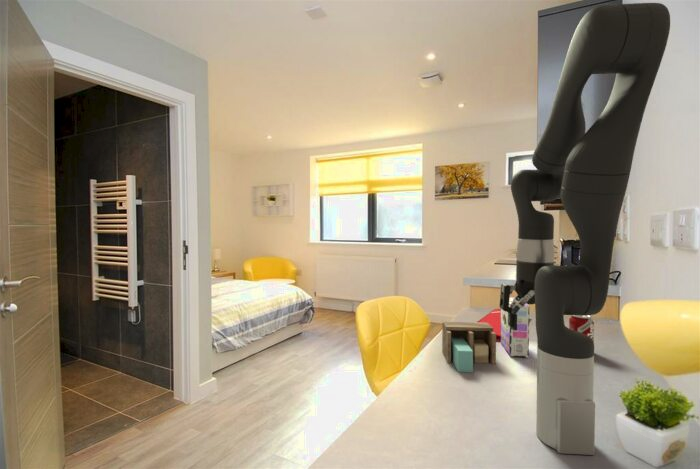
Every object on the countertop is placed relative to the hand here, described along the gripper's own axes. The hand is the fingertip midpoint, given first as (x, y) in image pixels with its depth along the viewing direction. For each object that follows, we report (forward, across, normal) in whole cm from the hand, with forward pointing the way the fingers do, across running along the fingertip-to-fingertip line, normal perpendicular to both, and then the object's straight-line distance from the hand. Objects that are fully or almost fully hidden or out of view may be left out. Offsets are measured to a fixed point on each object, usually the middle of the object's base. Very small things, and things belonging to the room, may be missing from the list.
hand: (533, 329), depth 81 cm
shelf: (+18, -8, +28) cm, 34 cm away
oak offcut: (+18, -4, +27) cm, 33 cm away
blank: (+18, -11, +23) cm, 31 cm away
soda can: (+19, +30, +36) cm, 51 cm away
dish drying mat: (+20, +14, +65) cm, 69 cm away
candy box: (+19, +9, +36) cm, 42 cm away
